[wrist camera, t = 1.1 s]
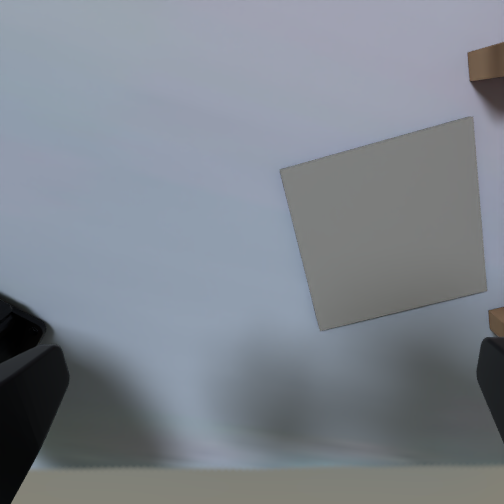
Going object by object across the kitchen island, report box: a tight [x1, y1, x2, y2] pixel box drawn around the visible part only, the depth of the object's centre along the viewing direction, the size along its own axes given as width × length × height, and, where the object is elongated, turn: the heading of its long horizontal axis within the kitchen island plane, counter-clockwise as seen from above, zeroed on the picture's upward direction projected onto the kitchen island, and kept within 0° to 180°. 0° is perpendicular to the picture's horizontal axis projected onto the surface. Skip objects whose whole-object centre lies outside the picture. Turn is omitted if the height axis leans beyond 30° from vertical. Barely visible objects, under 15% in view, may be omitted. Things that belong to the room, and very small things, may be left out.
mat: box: [280, 117, 487, 331], centre depth 20 cm, size 9×9×1 cm
